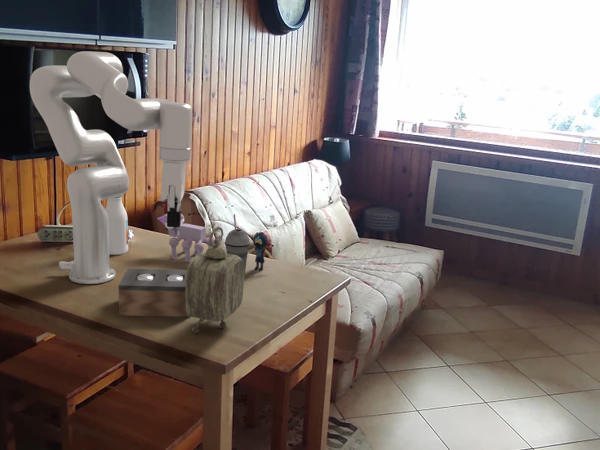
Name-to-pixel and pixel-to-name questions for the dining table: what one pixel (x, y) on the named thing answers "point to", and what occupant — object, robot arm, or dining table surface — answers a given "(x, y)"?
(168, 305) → the peg block
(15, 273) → the dining table surface
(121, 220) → the milk bottle
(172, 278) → the right peg
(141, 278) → the left peg
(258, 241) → the character figure
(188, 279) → the tabletop clock
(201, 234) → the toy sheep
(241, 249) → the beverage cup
